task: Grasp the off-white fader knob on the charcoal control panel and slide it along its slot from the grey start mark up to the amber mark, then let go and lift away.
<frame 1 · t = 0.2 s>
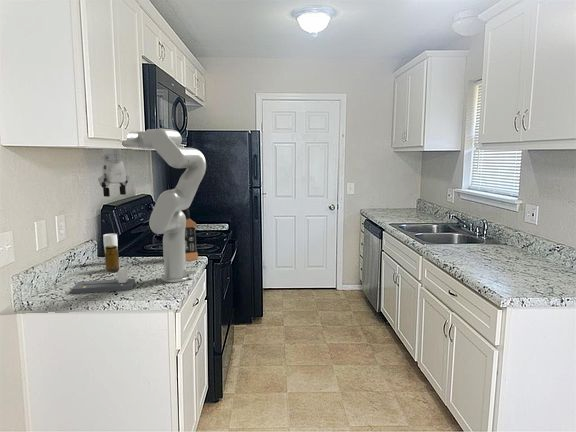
hand: (115, 195, 196), 37 cm above the counter, tool pointing down, fingers open, 9 cm apart
whiskey bottle: (187, 258, 226), on the counter
condiment: (114, 270, 204), on the counter
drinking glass: (112, 263, 217), on the counter
fader panel: (104, 288, 176), on the counter
fader knob: (122, 275, 177), point 5 cm above the counter, slide at 0.0 cm
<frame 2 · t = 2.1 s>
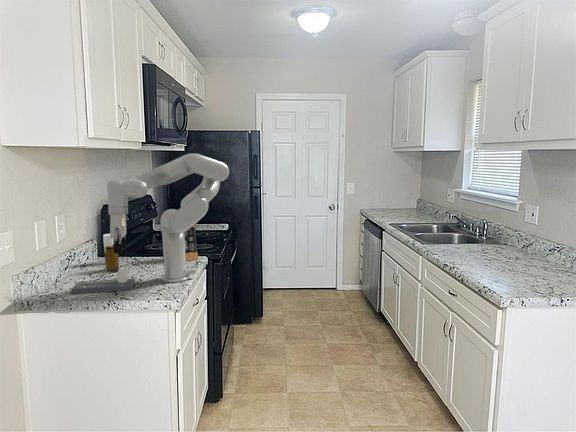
hand: (120, 250, 175), 16 cm above the counter, tool pointing down, fingers open, 9 cm apart
nothing on the counter moved.
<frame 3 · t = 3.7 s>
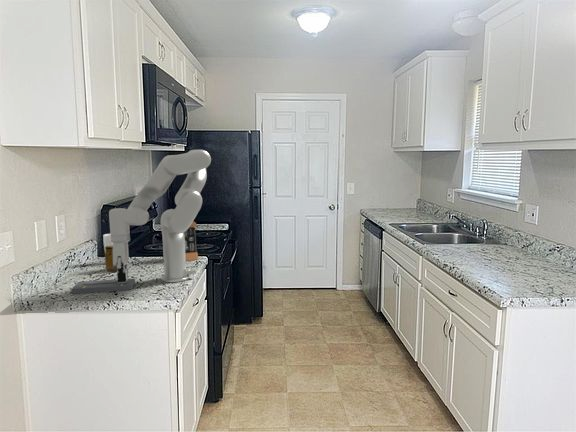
hand: (123, 279, 177), 3 cm above the counter, tool pointing down, fingers closed on fader knob, 4 cm apart
fader knob: (122, 275, 177), point 5 cm above the counter, slide at 0.0 cm, touching gripper
everything else where it was.
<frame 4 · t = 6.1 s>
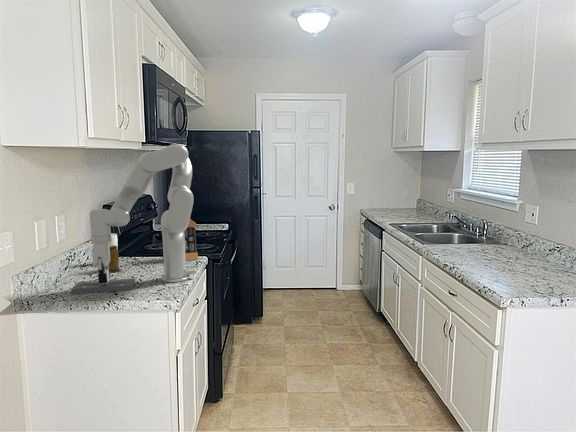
hand: (104, 280, 176), 3 cm above the counter, tool pointing down, fingers closed on fader knob, 4 cm apart
fader knob: (104, 276, 176), point 5 cm above the counter, slide at 7.5 cm, touching gripper
everything else where it was.
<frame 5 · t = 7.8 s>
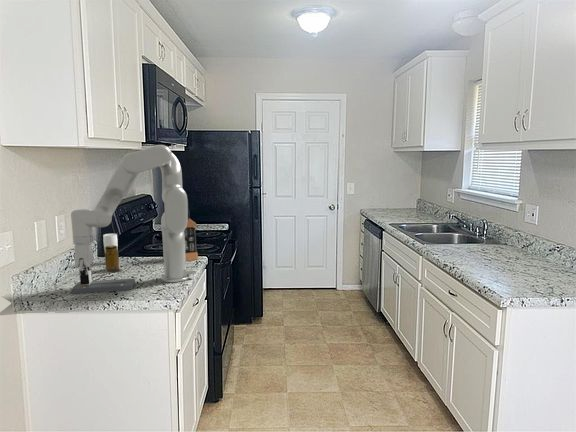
hand: (86, 281, 174), 3 cm above the counter, tool pointing down, fingers closed on fader knob, 4 cm apart
fader knob: (86, 277, 174), point 5 cm above the counter, slide at 14.4 cm, touching gripper
everything else where it was.
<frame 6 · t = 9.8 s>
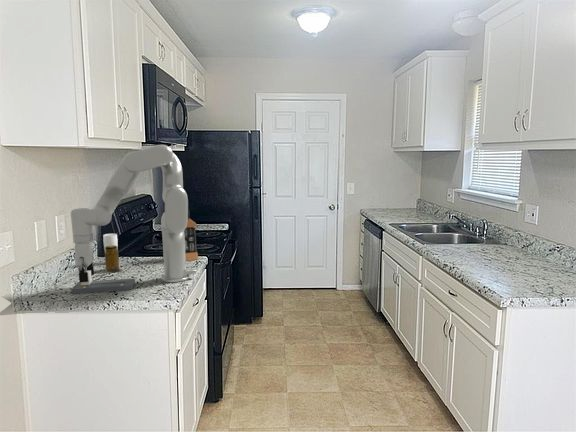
hand: (87, 278, 174), 5 cm above the counter, tool pointing down, fingers open, 9 cm apart
fader knob: (86, 277, 174), point 5 cm above the counter, slide at 14.5 cm
everything else where it was.
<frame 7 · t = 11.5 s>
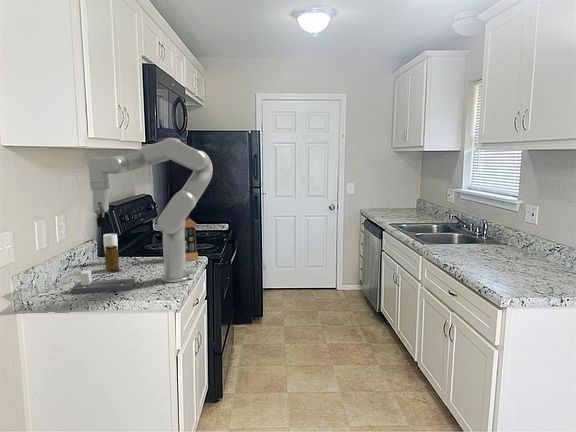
hand: (103, 225, 183), 25 cm above the counter, tool pointing down, fingers open, 9 cm apart
nothing on the counter moved.
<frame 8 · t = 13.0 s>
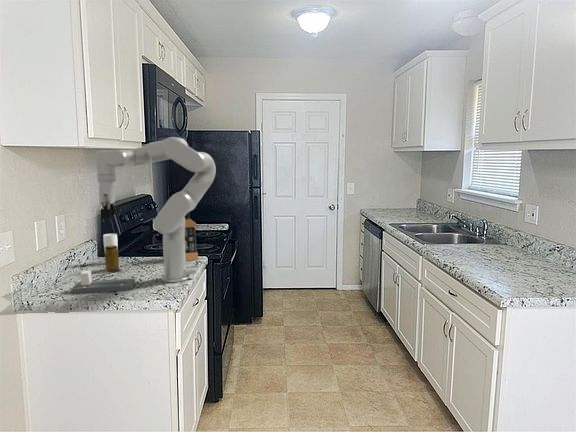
hand: (109, 216, 187), 28 cm above the counter, tool pointing down, fingers open, 9 cm apart
nothing on the counter moved.
at the end: fader knob slide at 14.5 cm; the gripper is holding nothing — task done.
